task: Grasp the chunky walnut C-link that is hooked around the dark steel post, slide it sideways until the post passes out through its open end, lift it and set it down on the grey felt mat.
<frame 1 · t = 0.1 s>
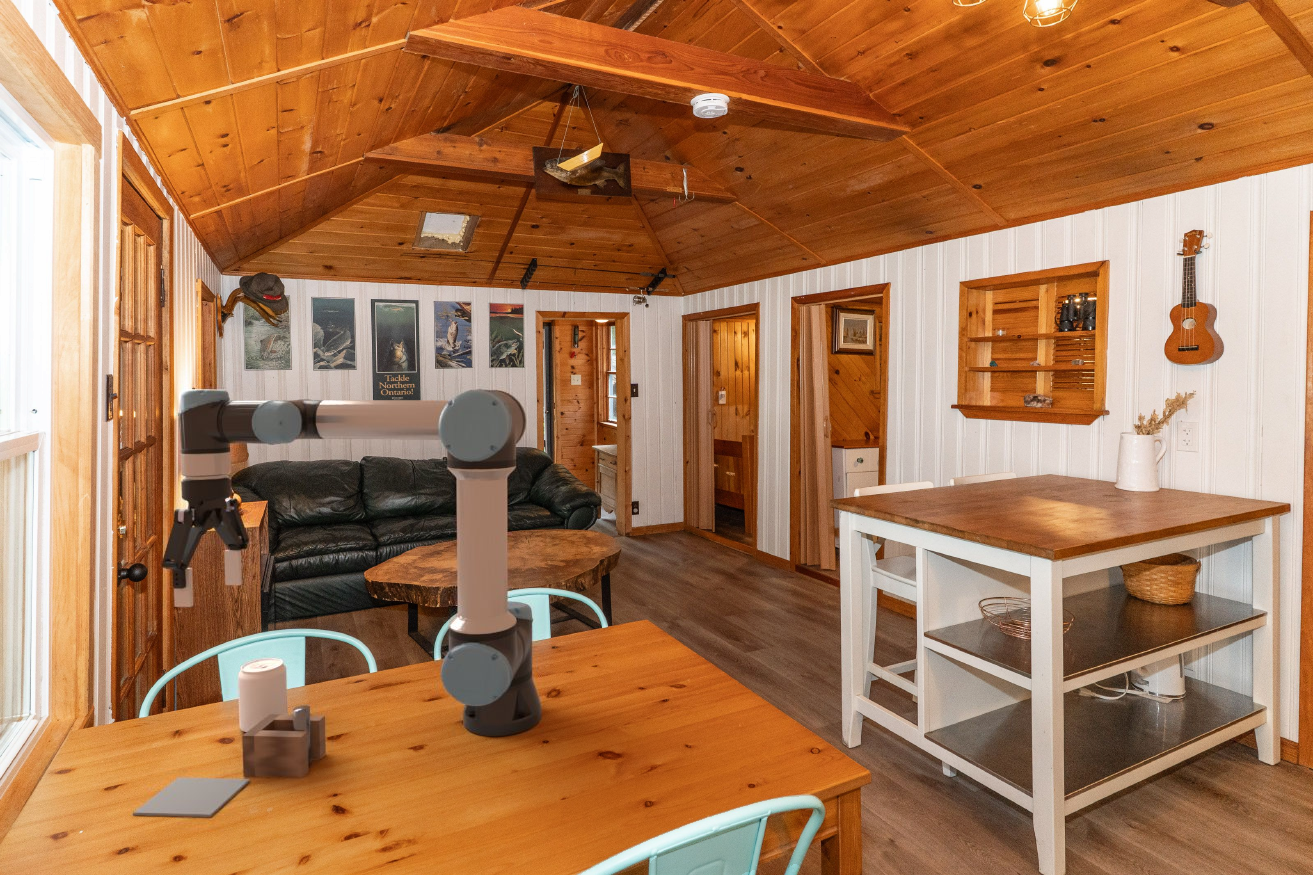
hand: (210, 595, 129), 28 cm above the table, fingers open, 13 cm apart
c link: (285, 764, 124), on the table
beverage can: (264, 726, 139), on the table
mat: (193, 797, 114), on the table
post: (302, 764, 124), on the table
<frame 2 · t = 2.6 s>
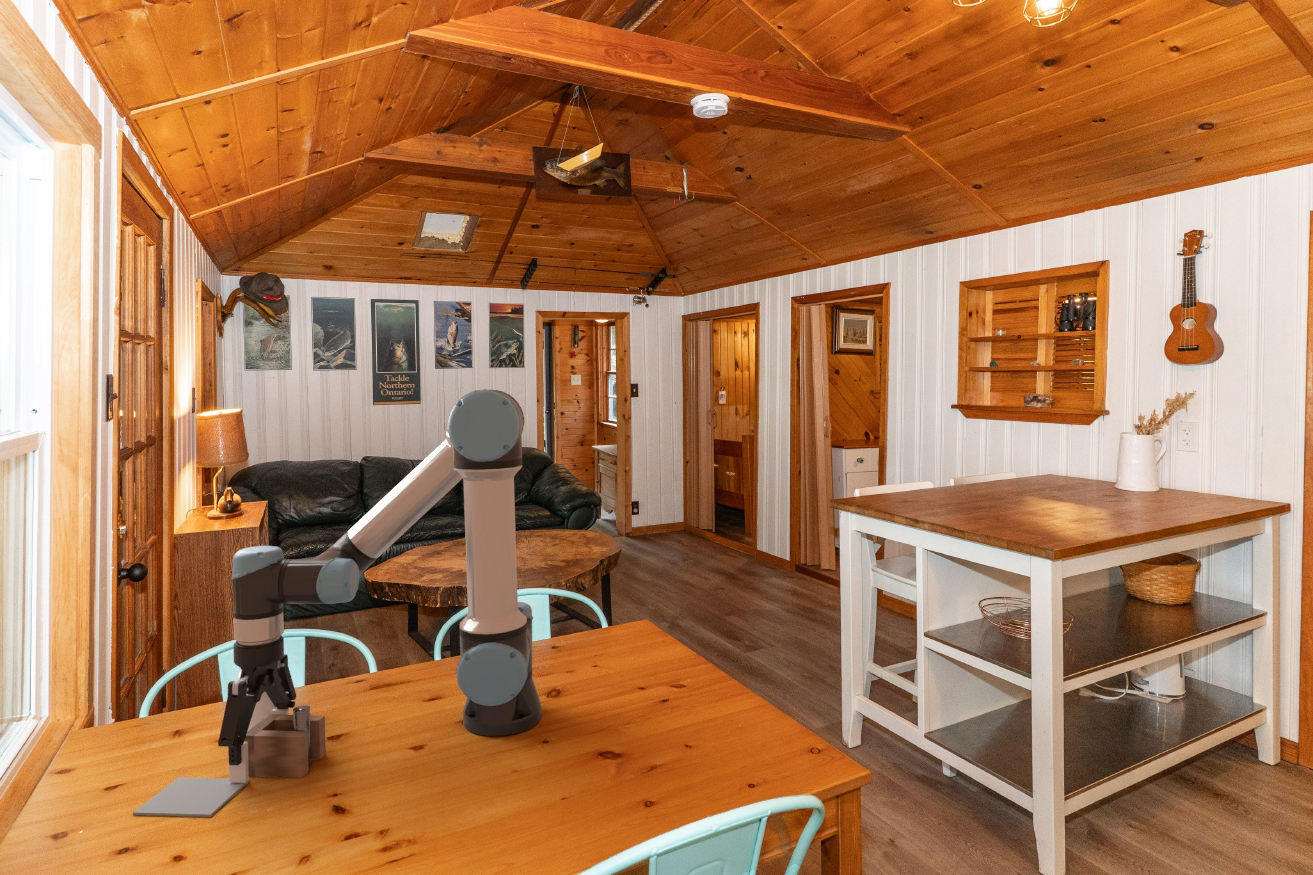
hand: (260, 762, 124), 1 cm above the table, fingers open, 12 cm apart
nothing on the table moved.
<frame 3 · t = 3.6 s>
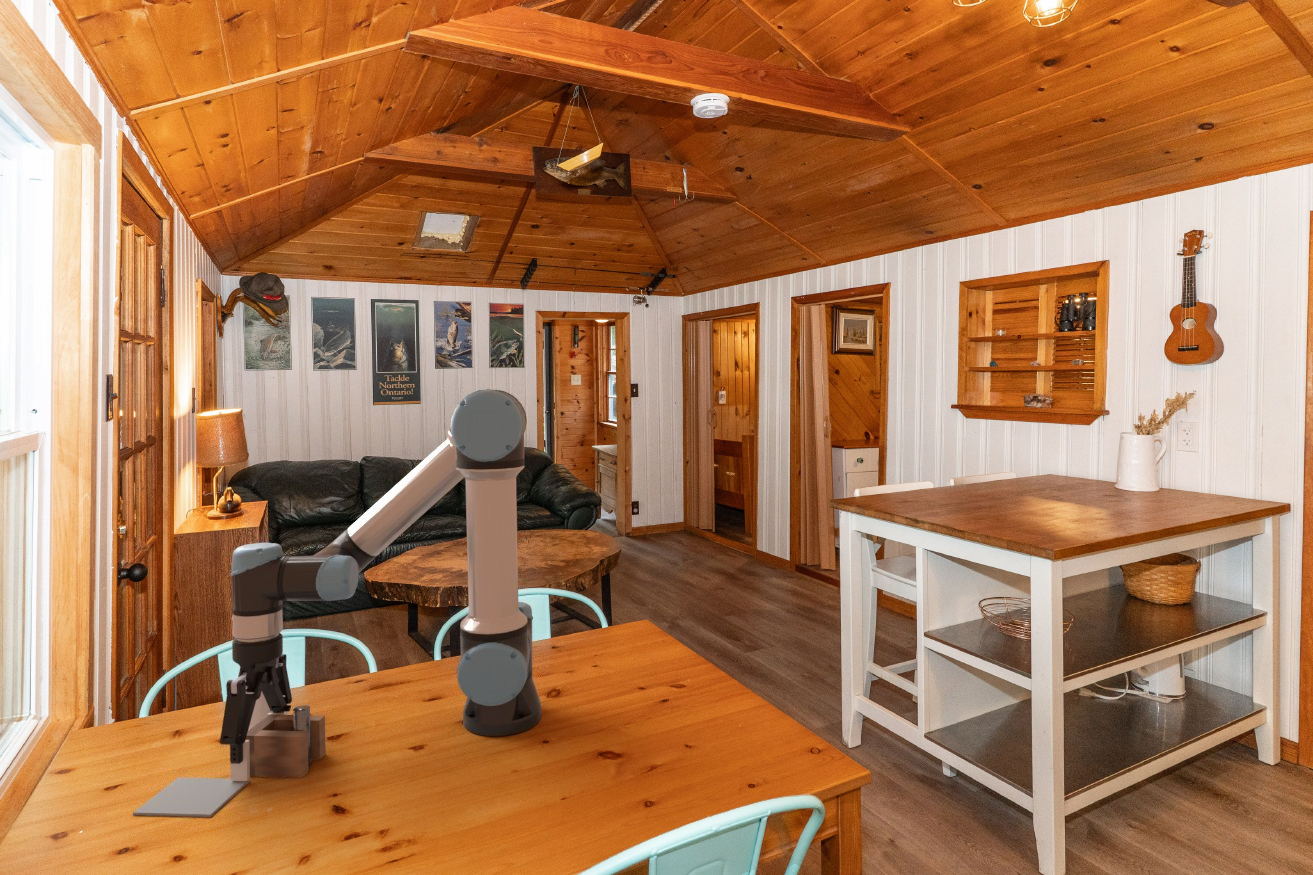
hand: (258, 763, 124), 1 cm above the table, fingers open, 10 cm apart
c link: (285, 764, 124), on the table, touching gripper
everything else where it was.
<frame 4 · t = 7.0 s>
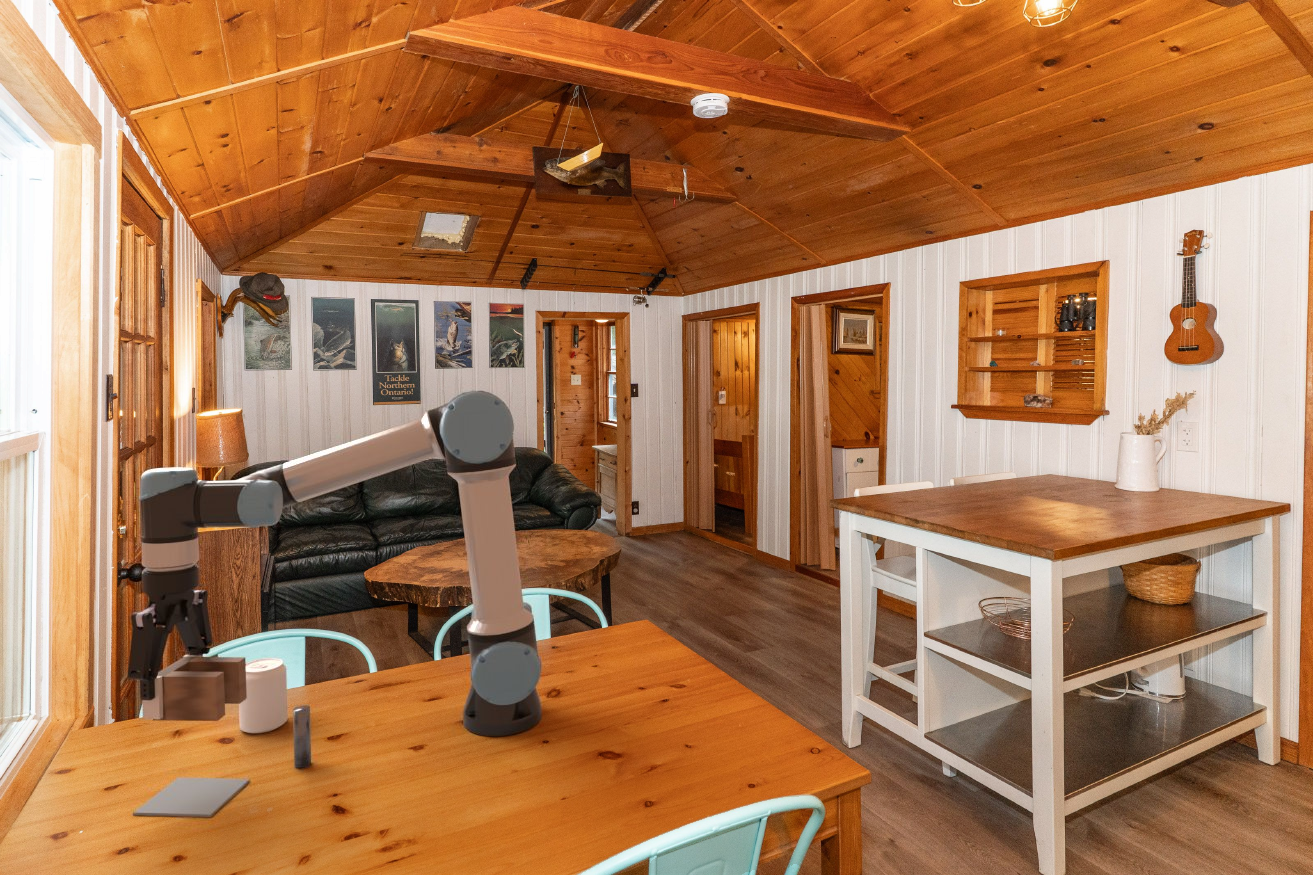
hand: (173, 705, 116), 14 cm above the table, fingers closed on c link, 8 cm apart
c link: (201, 708, 116), point 13 cm above the table, touching gripper
everything else where it was.
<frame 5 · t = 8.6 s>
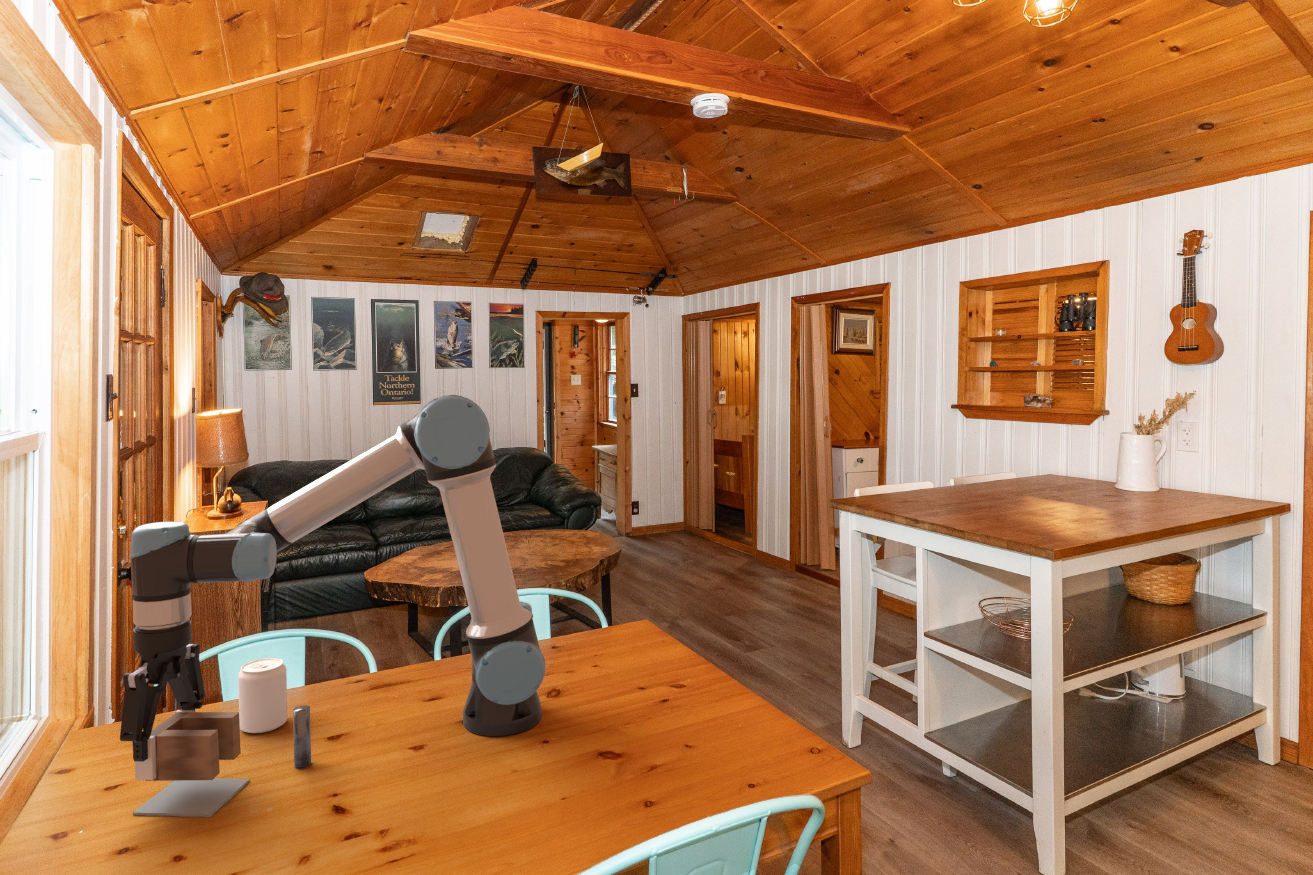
hand: (166, 763, 114), 6 cm above the table, fingers closed on c link, 8 cm apart
c link: (194, 766, 114), point 5 cm above the table, touching gripper
everything else where it was.
when the fingers open (1 cm above the table, at t = 9.9 s): c link stays where it is, resting on mat.
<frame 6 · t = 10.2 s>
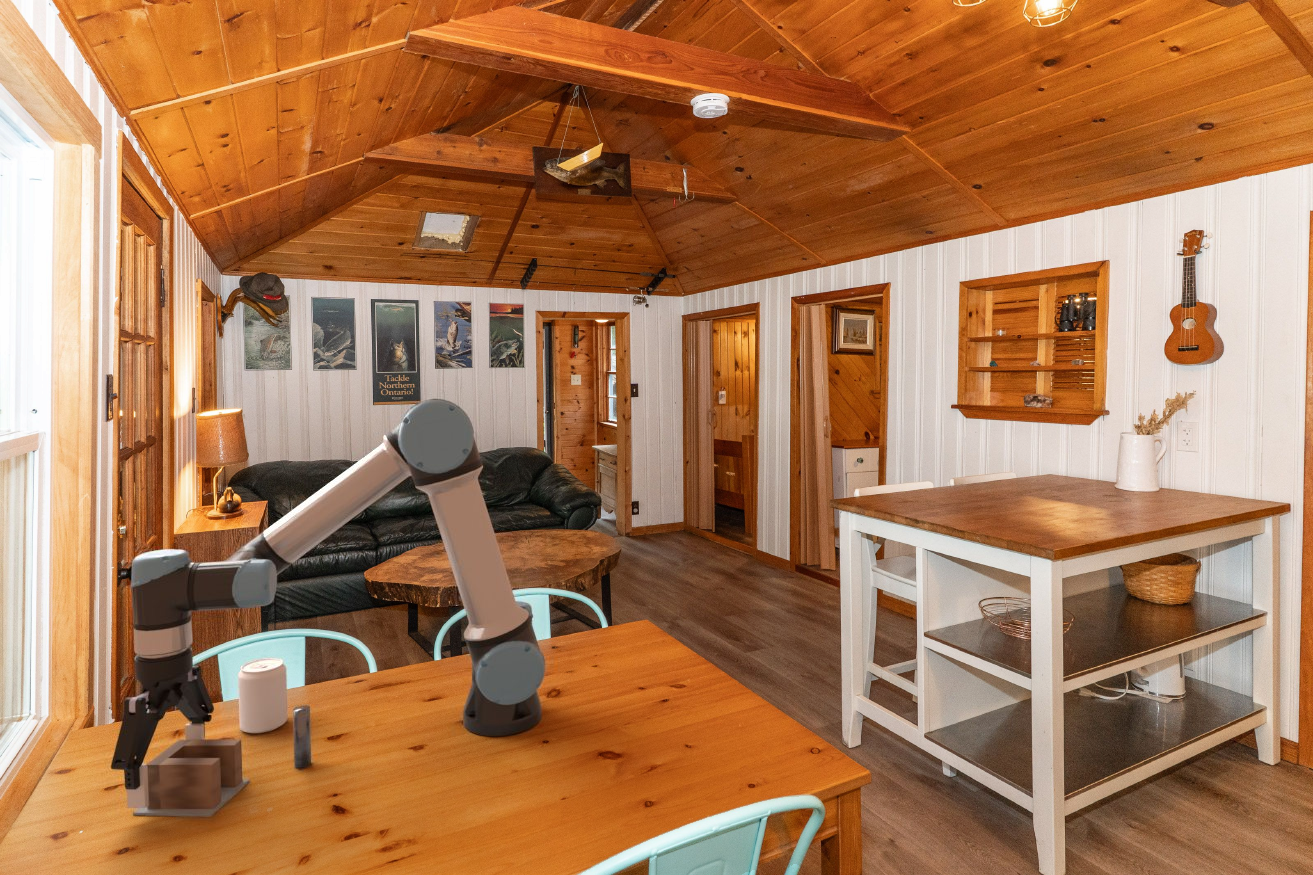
hand: (168, 783, 114), 2 cm above the table, fingers open, 12 cm apart
c link: (196, 794, 114), resting on mat
everything else where it was.
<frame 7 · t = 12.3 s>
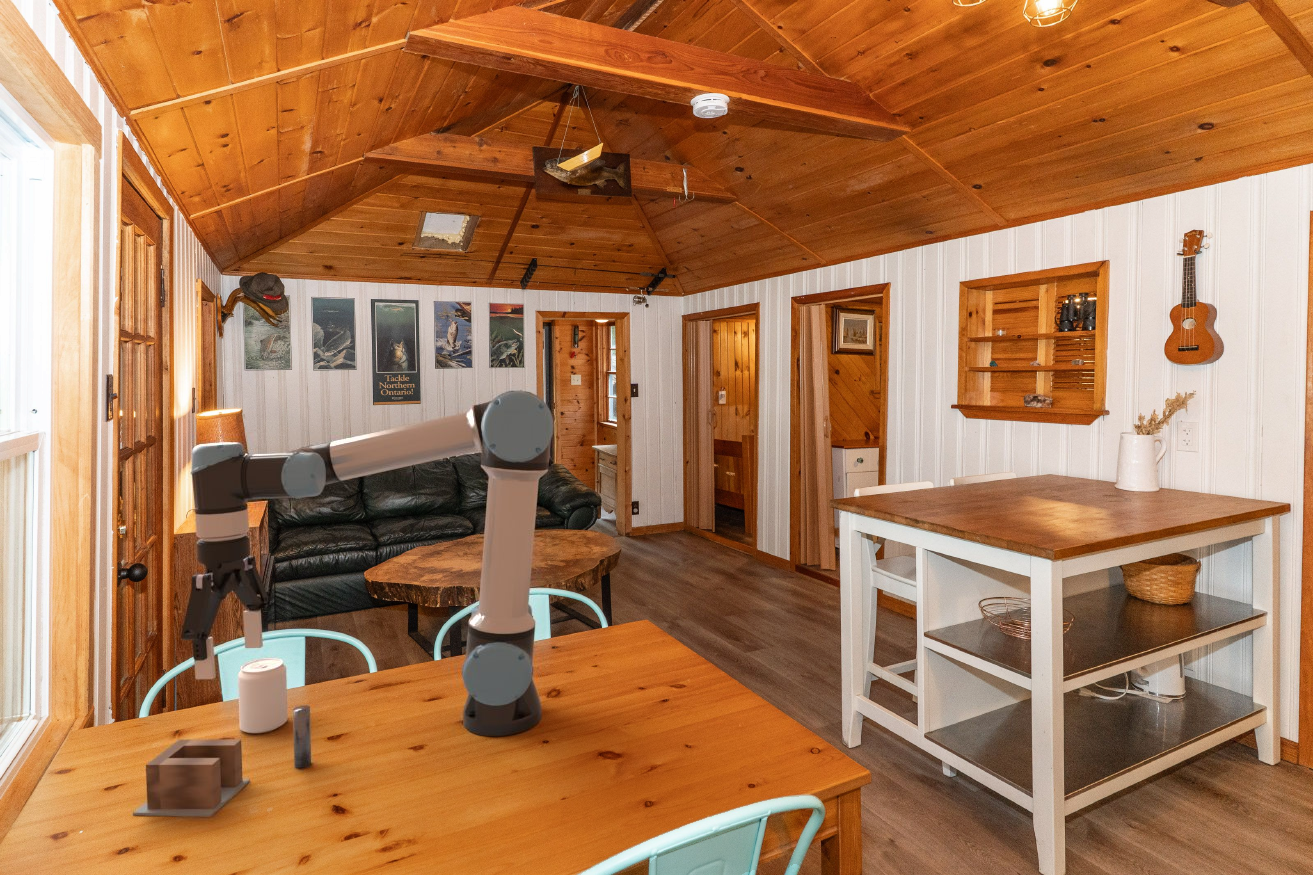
hand: (231, 662, 121), 19 cm above the table, fingers open, 13 cm apart
nothing on the table moved.
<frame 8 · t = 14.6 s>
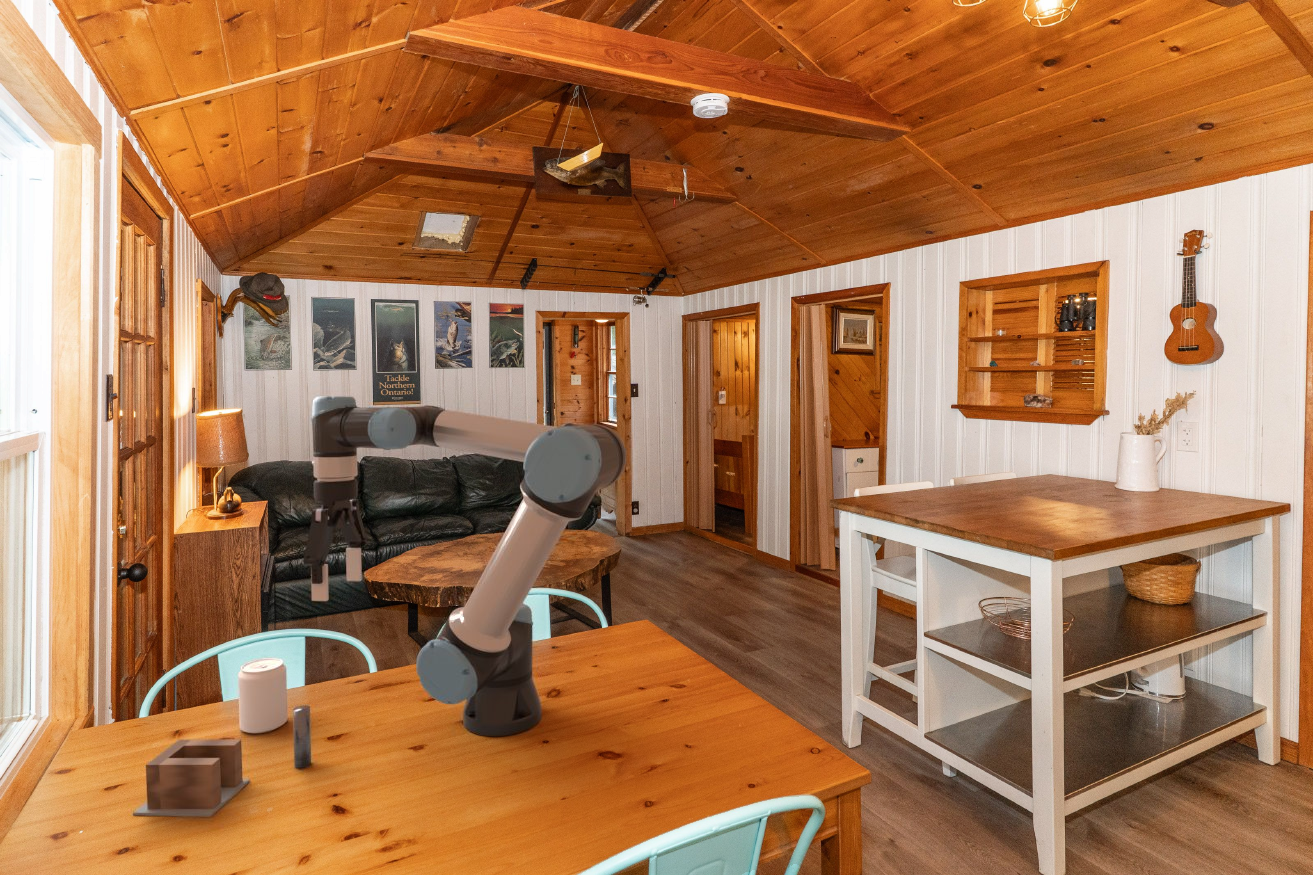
hand: (338, 590, 137), 27 cm above the table, fingers open, 13 cm apart
nothing on the table moved.
at the end: c link inside the target area on the mat (0.4 cm from its centre), point 0.4 cm above the mat's base; c link touching mat; the gripper is holding nothing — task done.
